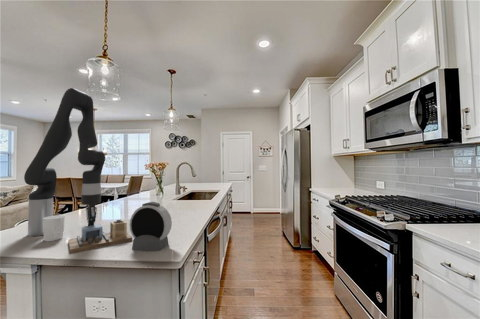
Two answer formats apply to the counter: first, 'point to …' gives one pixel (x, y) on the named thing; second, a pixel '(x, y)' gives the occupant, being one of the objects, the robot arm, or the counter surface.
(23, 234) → the counter surface
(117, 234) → the collar
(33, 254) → the counter surface
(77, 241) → the jig board
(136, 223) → the alarm clock
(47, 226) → the white cup
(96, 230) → the block
